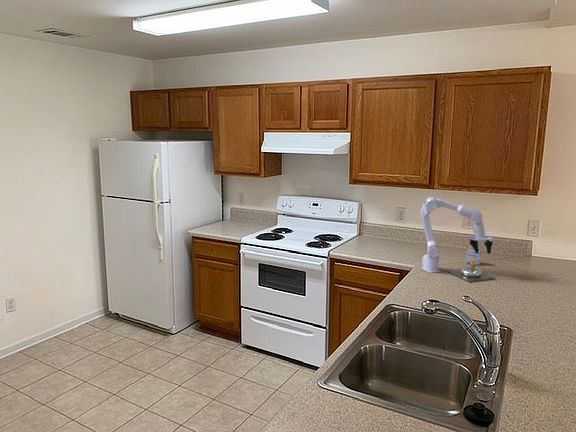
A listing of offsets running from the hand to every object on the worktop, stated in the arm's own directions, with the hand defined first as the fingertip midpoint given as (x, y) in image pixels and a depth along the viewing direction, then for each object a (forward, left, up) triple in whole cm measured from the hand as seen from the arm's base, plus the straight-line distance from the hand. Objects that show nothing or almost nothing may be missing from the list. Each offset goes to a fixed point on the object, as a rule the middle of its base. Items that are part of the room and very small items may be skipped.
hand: (483, 252), depth 255 cm
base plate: (0, -7, -13) cm, 15 cm away
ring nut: (-3, -5, -12) cm, 13 cm away
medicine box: (-19, +11, -14) cm, 26 cm away
